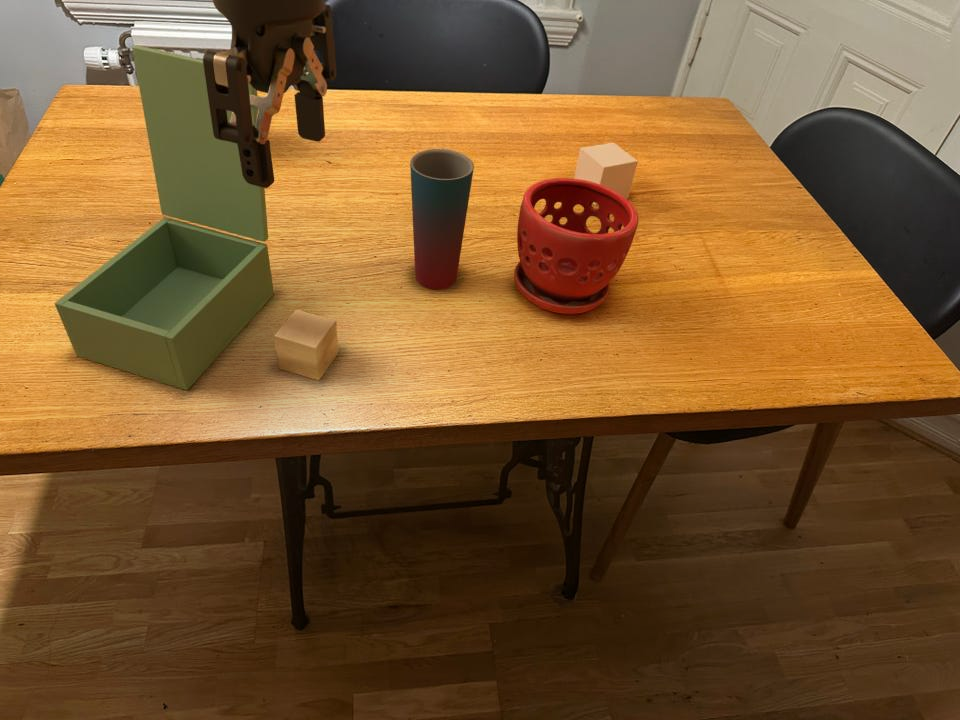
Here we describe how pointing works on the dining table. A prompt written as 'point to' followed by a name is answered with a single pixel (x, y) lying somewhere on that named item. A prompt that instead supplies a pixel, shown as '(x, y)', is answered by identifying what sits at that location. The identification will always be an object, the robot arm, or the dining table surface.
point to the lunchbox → (168, 302)
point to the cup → (439, 214)
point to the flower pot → (571, 244)
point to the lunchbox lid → (194, 148)
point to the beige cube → (607, 167)
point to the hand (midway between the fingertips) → (287, 160)
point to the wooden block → (306, 344)
